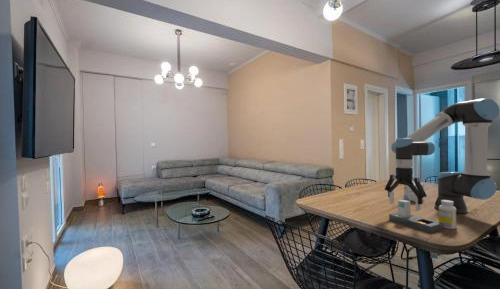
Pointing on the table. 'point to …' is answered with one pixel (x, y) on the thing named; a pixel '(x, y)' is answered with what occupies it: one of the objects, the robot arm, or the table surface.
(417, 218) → the panel
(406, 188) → the ink box
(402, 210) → the plug
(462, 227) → the table surface
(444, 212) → the supplement bottle
